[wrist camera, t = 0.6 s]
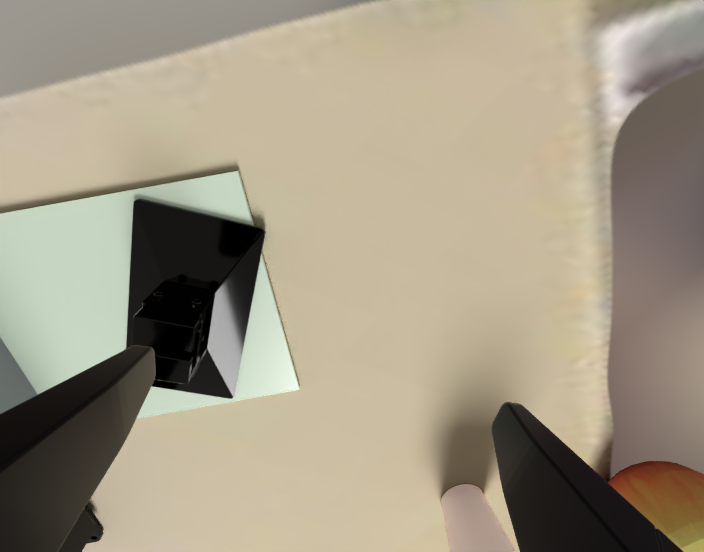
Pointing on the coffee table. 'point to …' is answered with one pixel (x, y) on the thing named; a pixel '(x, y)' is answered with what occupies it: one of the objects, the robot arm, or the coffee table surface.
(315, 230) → the coffee table surface
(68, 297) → the base plate
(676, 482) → the apple
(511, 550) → the smoothie
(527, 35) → the coffee table surface
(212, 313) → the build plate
